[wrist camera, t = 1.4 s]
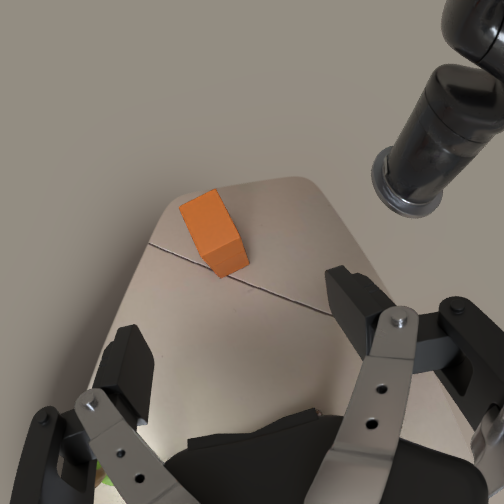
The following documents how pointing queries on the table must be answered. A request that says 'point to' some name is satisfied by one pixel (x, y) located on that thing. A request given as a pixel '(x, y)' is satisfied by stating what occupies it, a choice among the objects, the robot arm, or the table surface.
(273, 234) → the table surface
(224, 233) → the orange lidded gift box
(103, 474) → the snail figurine
